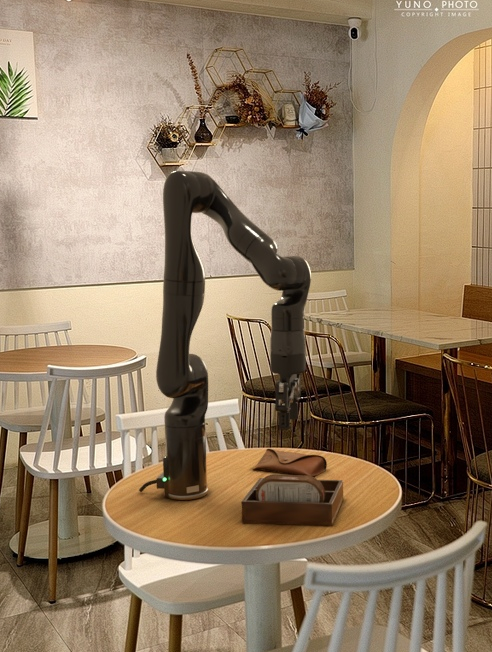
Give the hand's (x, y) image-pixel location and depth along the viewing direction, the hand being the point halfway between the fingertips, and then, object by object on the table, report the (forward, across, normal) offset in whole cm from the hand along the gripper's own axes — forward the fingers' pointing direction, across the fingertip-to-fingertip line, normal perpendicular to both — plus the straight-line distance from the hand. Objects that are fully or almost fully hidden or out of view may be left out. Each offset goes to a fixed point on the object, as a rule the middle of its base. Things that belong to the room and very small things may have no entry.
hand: (288, 424), depth 189 cm
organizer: (+21, -3, 0) cm, 21 cm away
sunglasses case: (+21, -33, -7) cm, 40 cm away
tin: (+20, +1, 0) cm, 20 cm away
